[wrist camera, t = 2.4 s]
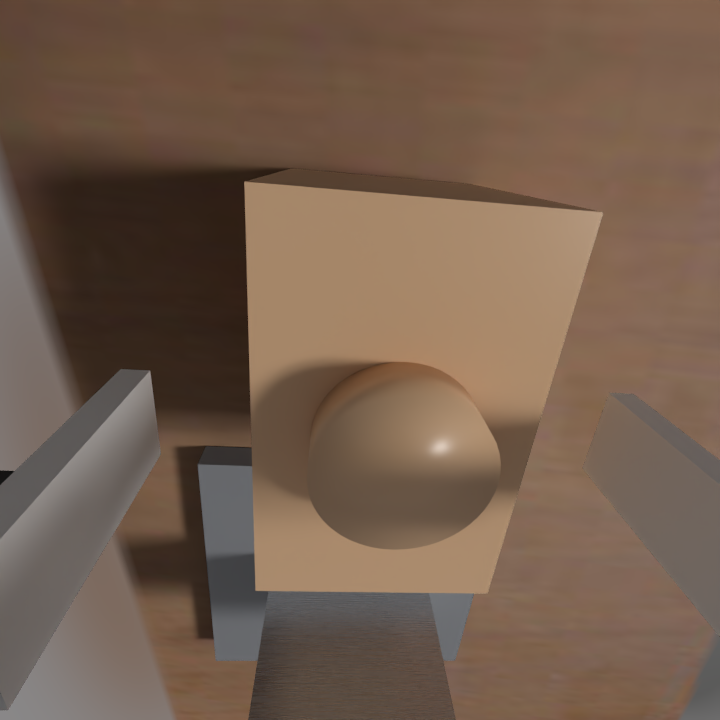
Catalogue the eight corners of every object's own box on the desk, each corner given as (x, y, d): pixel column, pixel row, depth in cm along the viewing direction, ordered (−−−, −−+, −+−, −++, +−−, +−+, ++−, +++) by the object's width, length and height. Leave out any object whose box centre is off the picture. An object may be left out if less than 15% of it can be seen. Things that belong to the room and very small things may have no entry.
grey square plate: (205, 446, 23) (121, 633, 14) (498, 457, 24) (593, 635, 15) (221, 637, 30) (171, 847, 21) (449, 638, 31) (496, 836, 22)
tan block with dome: (291, 168, 18) (225, 186, 7) (470, 183, 18) (654, 223, 8) (288, 416, 23) (245, 643, 12) (428, 422, 23) (504, 644, 13)
